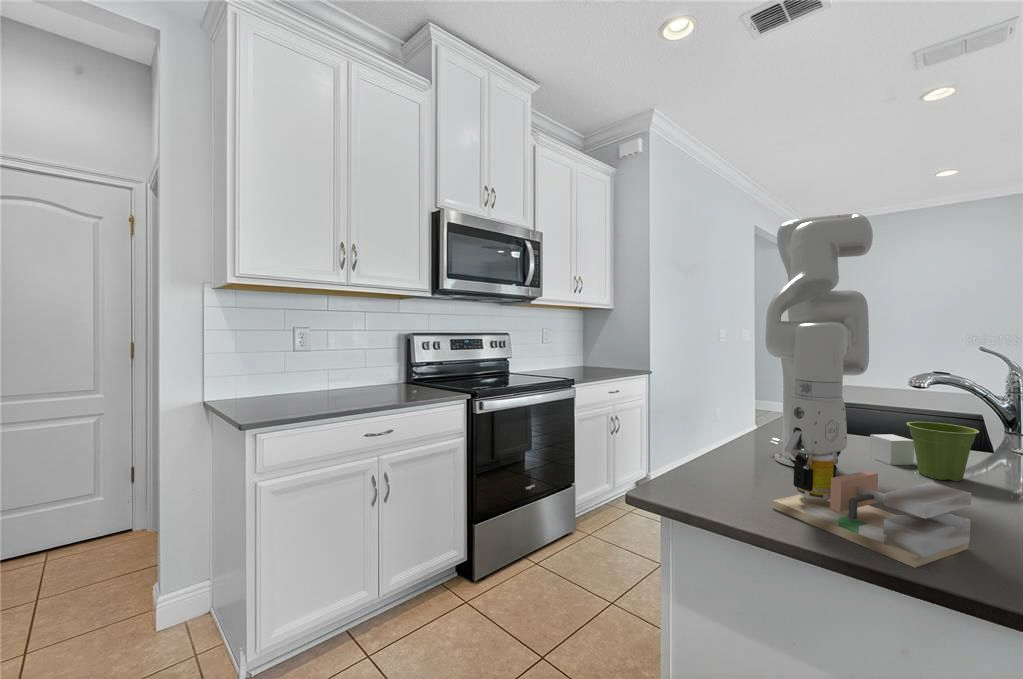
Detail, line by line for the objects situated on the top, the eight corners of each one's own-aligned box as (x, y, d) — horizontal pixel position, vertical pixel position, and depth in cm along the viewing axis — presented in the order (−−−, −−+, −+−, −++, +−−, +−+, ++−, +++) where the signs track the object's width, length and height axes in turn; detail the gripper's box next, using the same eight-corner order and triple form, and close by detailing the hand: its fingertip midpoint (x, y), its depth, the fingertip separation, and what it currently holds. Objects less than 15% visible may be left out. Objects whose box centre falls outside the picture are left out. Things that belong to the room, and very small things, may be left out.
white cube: (869, 457, 116) (870, 434, 115) (891, 457, 116) (892, 434, 116) (890, 465, 110) (891, 440, 109) (913, 464, 110) (914, 440, 110)
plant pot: (974, 475, 102) (976, 426, 101) (980, 490, 93) (982, 436, 93) (904, 464, 110) (906, 418, 109) (904, 476, 101) (906, 427, 100)
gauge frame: (772, 508, 84) (773, 460, 84) (821, 497, 89) (823, 452, 89) (919, 569, 63) (921, 506, 63) (972, 550, 68) (975, 492, 68)
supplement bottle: (839, 498, 83) (841, 443, 82) (821, 504, 80) (822, 447, 80) (808, 488, 88) (809, 436, 87) (790, 493, 85) (791, 439, 85)
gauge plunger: (826, 509, 76) (827, 478, 76) (866, 499, 80) (867, 470, 80) (936, 551, 62) (938, 513, 62) (978, 536, 66) (980, 501, 66)
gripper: (805, 396, 76) (803, 501, 77) (868, 389, 83) (865, 486, 84) (765, 389, 83) (763, 486, 84) (826, 384, 90) (824, 473, 90)
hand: (814, 485), depth 84 cm, fingers closed on supplement bottle, 5 cm apart
